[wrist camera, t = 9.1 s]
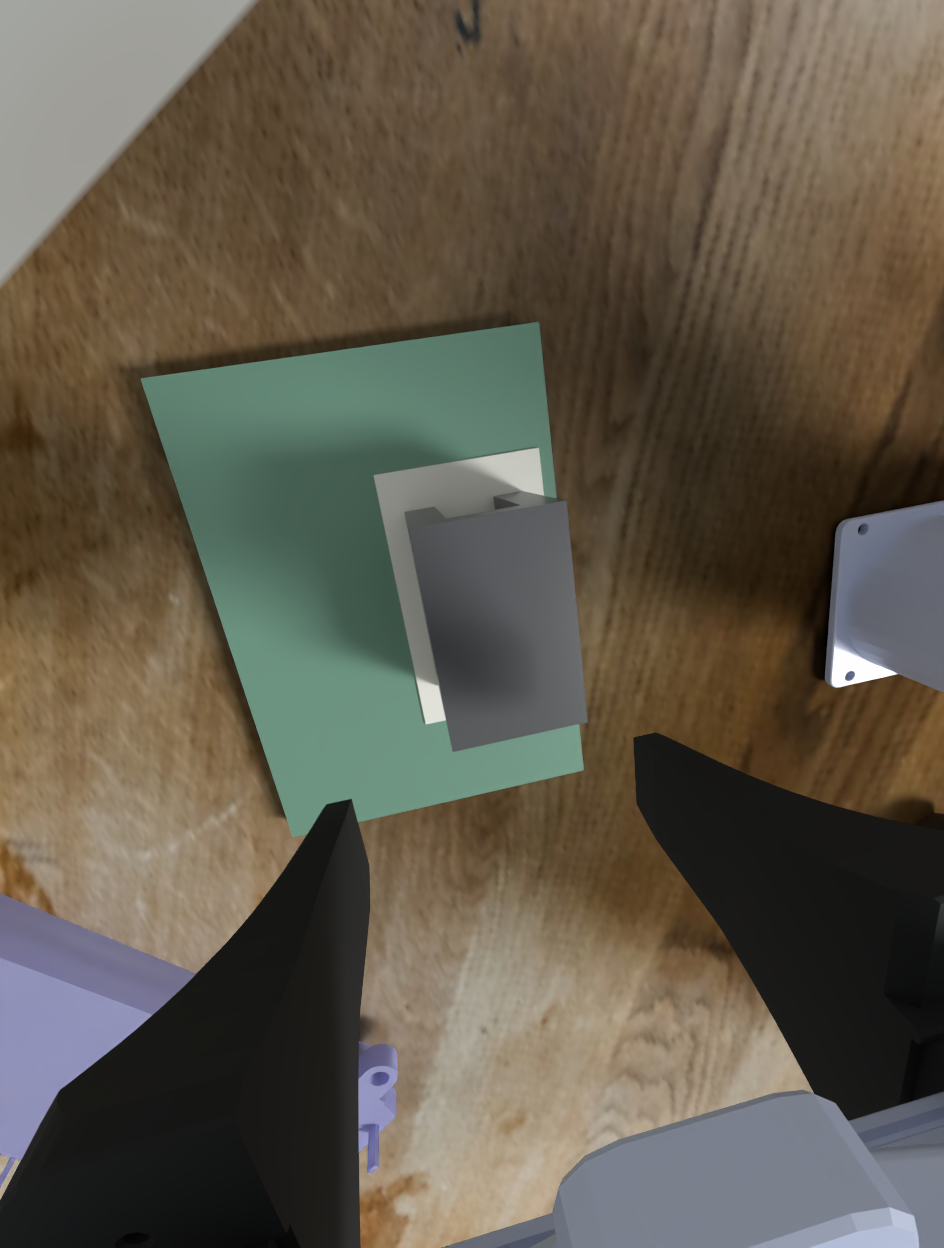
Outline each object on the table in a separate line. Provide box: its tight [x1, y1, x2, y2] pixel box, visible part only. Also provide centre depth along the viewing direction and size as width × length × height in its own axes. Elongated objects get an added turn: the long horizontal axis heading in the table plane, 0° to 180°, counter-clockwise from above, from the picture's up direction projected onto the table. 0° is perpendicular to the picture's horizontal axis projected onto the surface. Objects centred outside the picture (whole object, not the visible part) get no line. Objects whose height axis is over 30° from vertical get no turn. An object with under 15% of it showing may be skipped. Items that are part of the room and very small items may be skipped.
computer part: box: [0, 894, 398, 1187], centre depth 23 cm, size 30×4×15 cm
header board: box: [140, 322, 584, 837], centre depth 19 cm, size 13×18×4 cm
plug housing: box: [404, 491, 588, 752], centre depth 17 cm, size 4×7×5 cm, turn 9°
